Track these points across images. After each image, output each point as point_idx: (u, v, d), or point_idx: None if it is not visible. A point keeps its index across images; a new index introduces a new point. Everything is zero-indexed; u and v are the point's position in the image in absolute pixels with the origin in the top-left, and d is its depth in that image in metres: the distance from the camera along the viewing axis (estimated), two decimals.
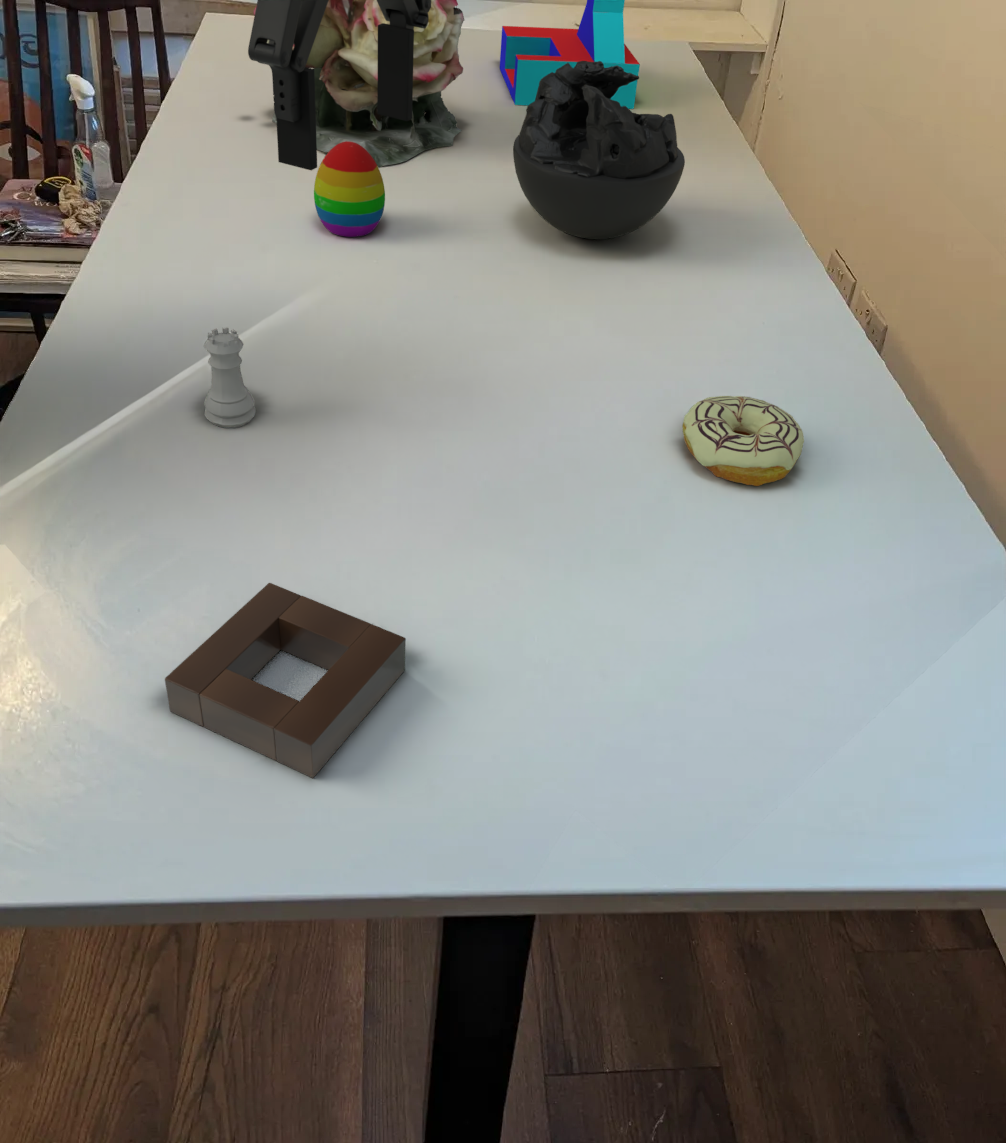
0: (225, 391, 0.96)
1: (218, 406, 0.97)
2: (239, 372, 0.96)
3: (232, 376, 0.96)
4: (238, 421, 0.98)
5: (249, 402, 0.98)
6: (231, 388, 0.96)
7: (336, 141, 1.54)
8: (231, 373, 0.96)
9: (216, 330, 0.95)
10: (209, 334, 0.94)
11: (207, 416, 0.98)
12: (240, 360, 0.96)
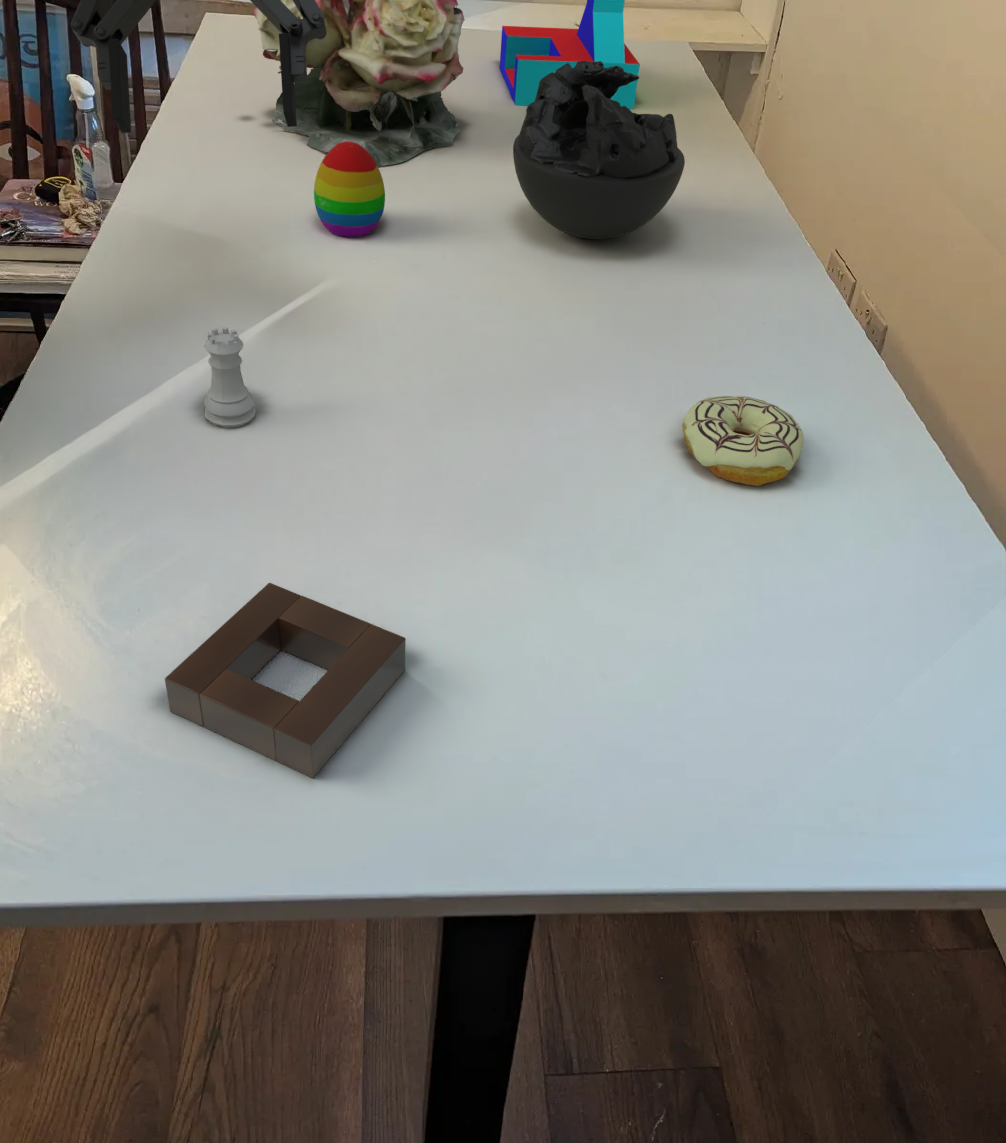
0: (225, 391, 0.96)
1: (218, 406, 0.97)
2: (239, 372, 0.96)
3: (232, 376, 0.96)
4: (238, 421, 0.98)
5: (249, 402, 0.98)
6: (231, 388, 0.96)
7: (336, 141, 1.54)
8: (231, 373, 0.96)
9: (216, 330, 0.95)
10: (209, 334, 0.94)
11: (207, 416, 0.98)
12: (240, 360, 0.96)
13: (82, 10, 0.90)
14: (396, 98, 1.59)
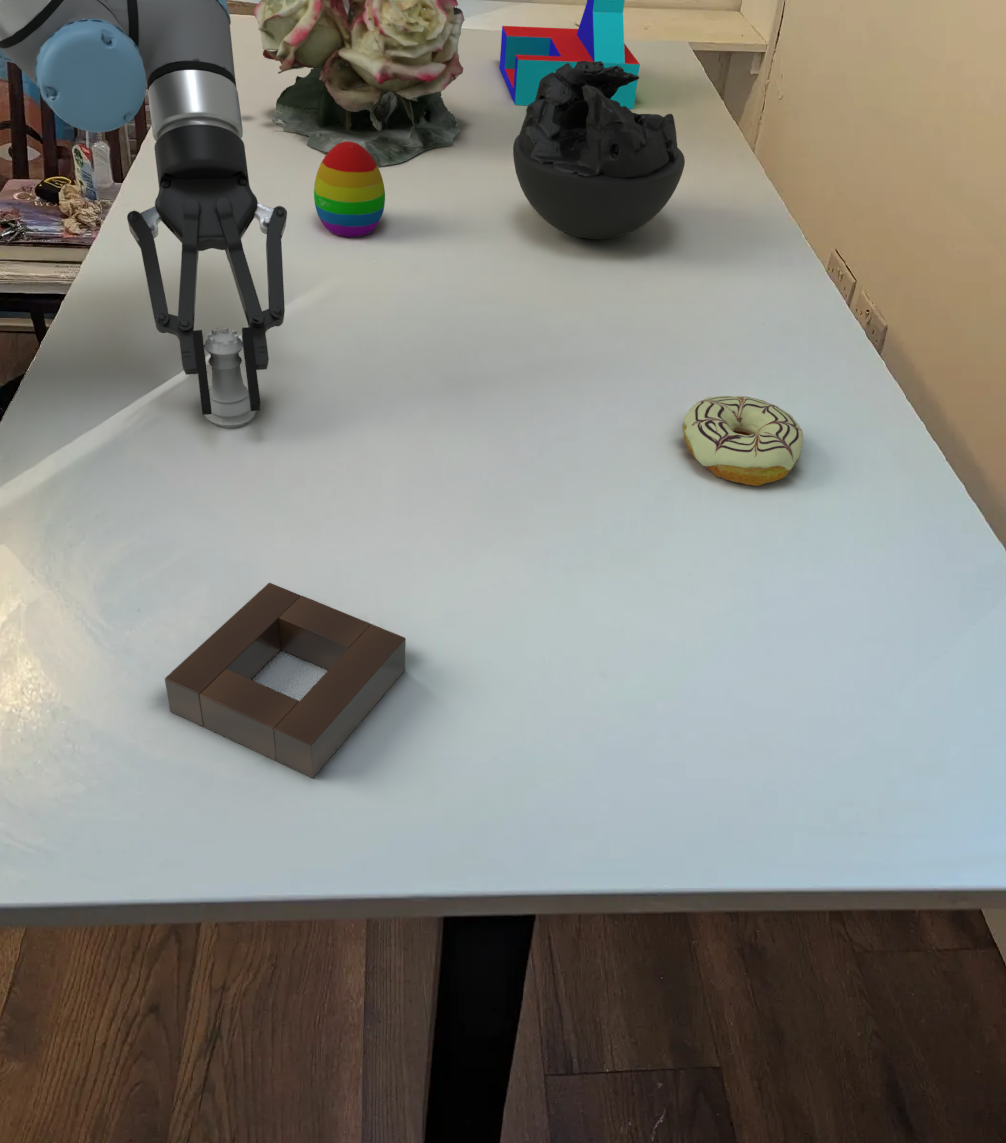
0: (225, 391, 0.96)
1: (218, 406, 0.97)
2: (239, 372, 0.96)
3: (232, 375, 0.96)
4: (238, 421, 0.98)
5: (249, 402, 0.98)
6: (231, 388, 0.96)
7: (336, 141, 1.54)
8: (231, 373, 0.96)
9: (216, 330, 0.95)
10: (209, 334, 0.94)
11: (207, 416, 0.98)
12: (240, 360, 0.96)
13: (156, 303, 0.93)
14: (396, 98, 1.59)
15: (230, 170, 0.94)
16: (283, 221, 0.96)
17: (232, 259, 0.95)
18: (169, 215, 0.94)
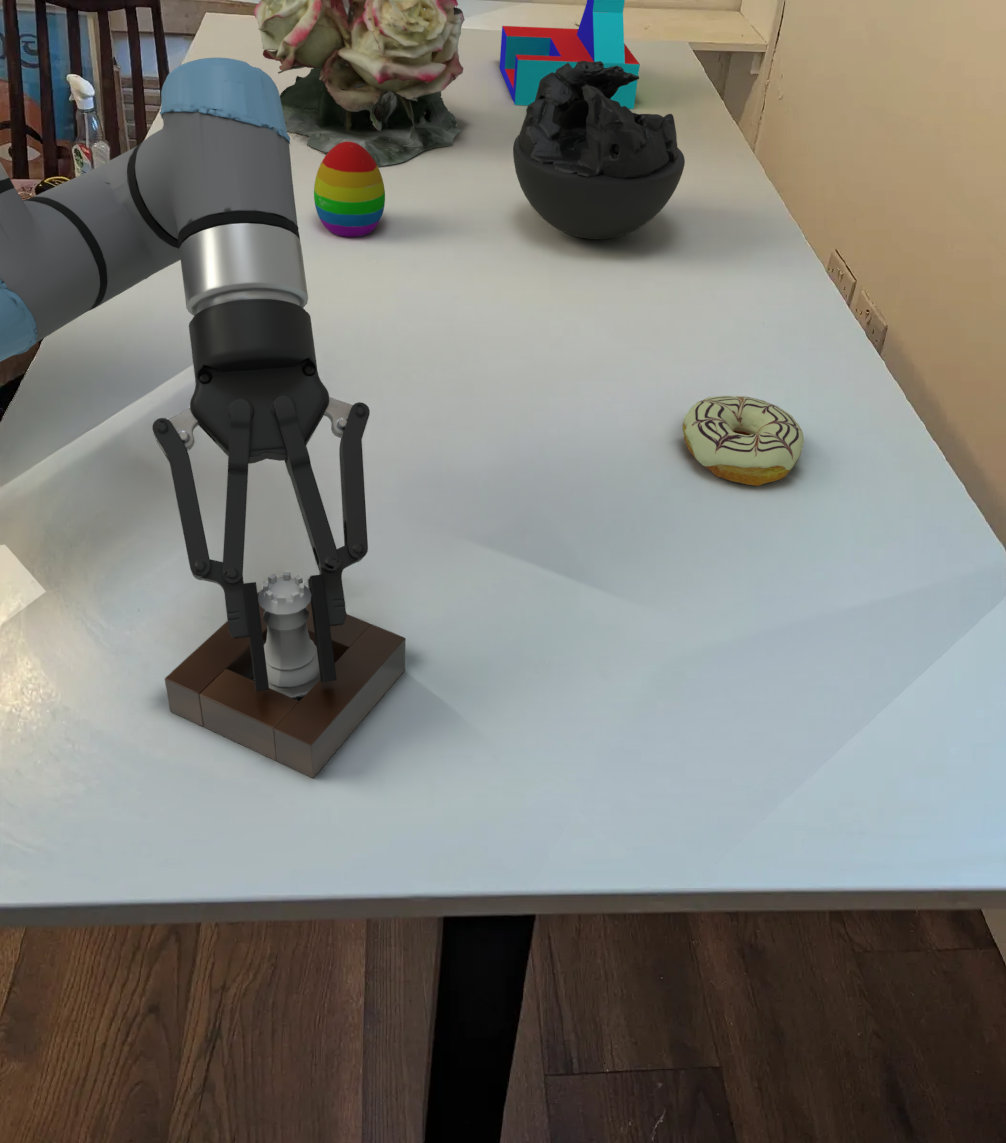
0: (286, 655, 0.70)
1: (276, 674, 0.71)
2: (305, 629, 0.71)
3: (296, 636, 0.70)
4: (303, 691, 0.72)
5: (317, 664, 0.72)
6: (294, 651, 0.70)
7: (336, 141, 1.54)
8: (294, 633, 0.70)
9: (274, 577, 0.69)
10: (265, 584, 0.68)
11: None
12: (307, 614, 0.70)
13: (193, 546, 0.67)
14: (396, 98, 1.59)
15: (294, 359, 0.68)
16: (365, 423, 0.70)
17: (296, 479, 0.69)
18: (210, 421, 0.68)
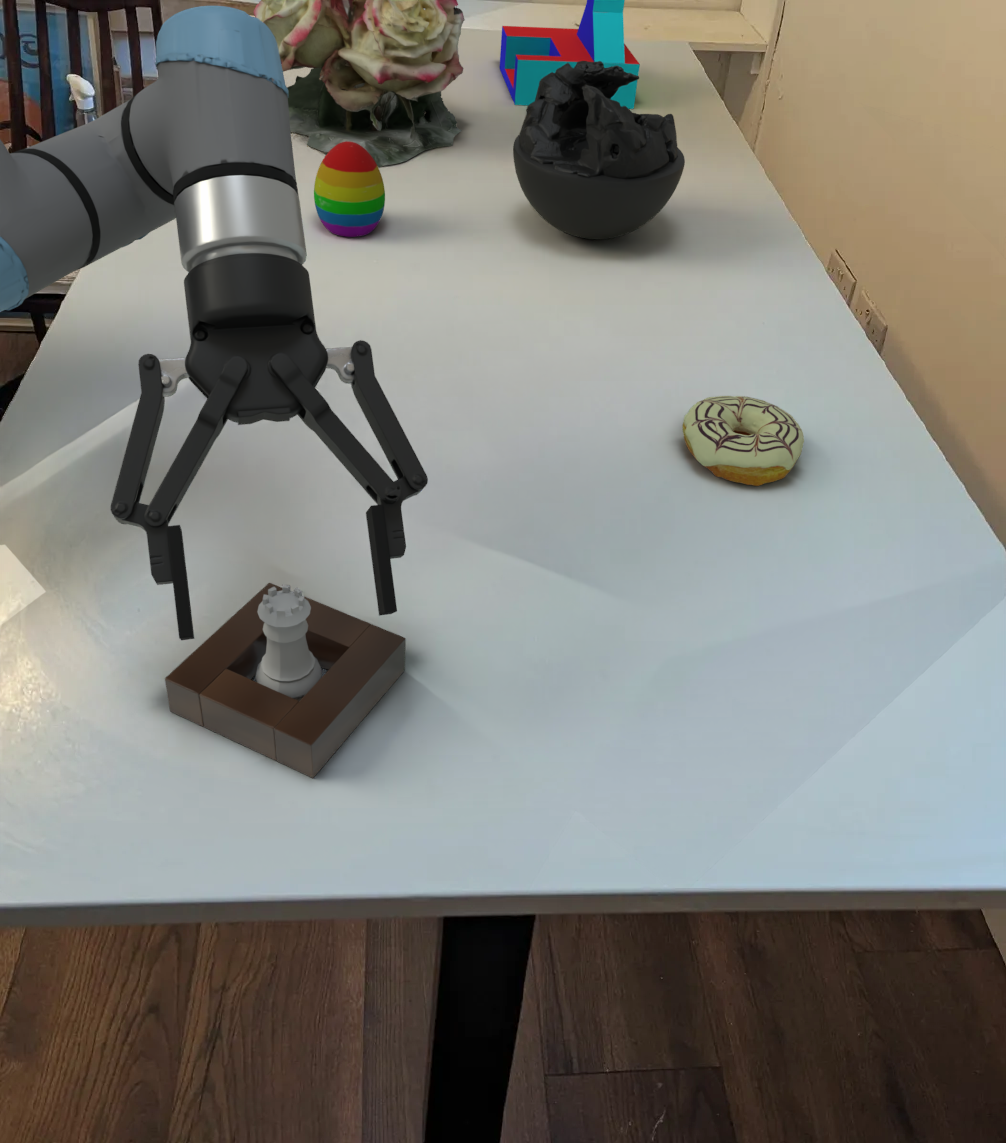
0: (285, 667, 0.71)
1: (275, 686, 0.72)
2: (304, 641, 0.71)
3: (295, 648, 0.71)
4: None
5: (315, 676, 0.73)
6: (294, 663, 0.71)
7: (336, 141, 1.54)
8: (293, 645, 0.70)
9: (273, 590, 0.70)
10: (265, 597, 0.69)
11: None
12: (306, 626, 0.71)
13: (124, 486, 0.65)
14: (396, 98, 1.59)
15: (292, 316, 0.66)
16: (371, 359, 0.69)
17: (324, 429, 0.68)
18: (197, 378, 0.66)
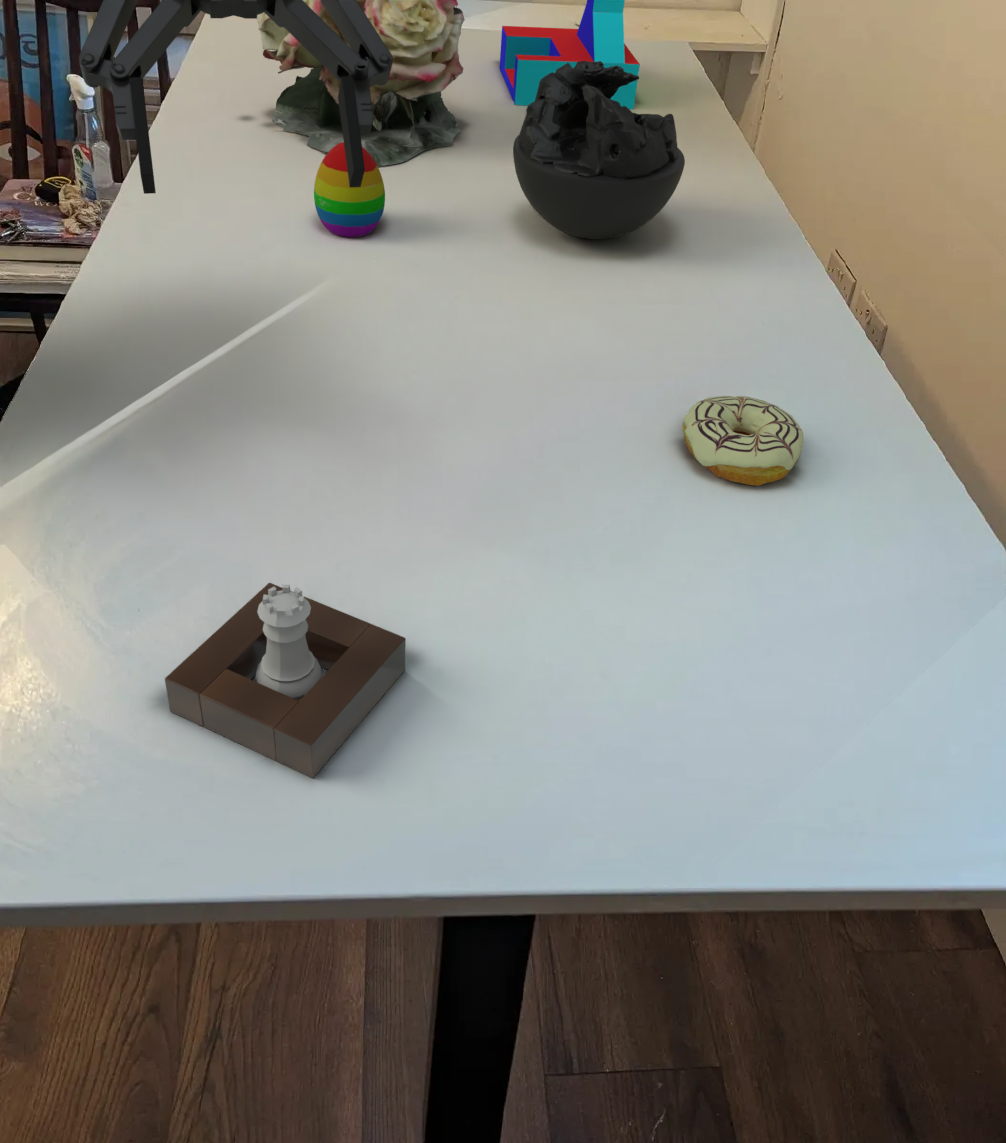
0: (285, 667, 0.71)
1: (275, 686, 0.72)
2: (304, 641, 0.71)
3: (295, 648, 0.71)
4: None
5: (315, 676, 0.73)
6: (294, 663, 0.71)
7: (336, 141, 1.54)
8: (293, 645, 0.70)
9: (273, 590, 0.70)
10: (265, 597, 0.69)
11: None
12: (306, 626, 0.71)
13: (93, 41, 0.72)
14: (396, 98, 1.59)
15: None
16: None
17: (293, 13, 0.75)
18: None
